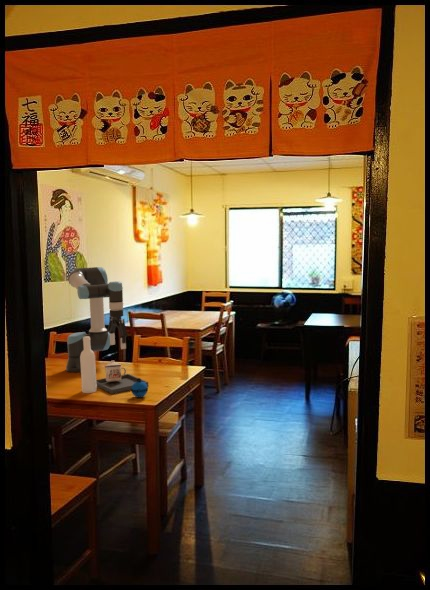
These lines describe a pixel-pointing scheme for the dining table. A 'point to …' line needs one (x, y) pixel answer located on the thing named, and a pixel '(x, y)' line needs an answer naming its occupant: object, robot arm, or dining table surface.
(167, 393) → the dining table surface
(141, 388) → the ornament
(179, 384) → the dining table surface
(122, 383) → the serving tray
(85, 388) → the bottle
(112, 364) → the teacup with lid
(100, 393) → the dining table surface
